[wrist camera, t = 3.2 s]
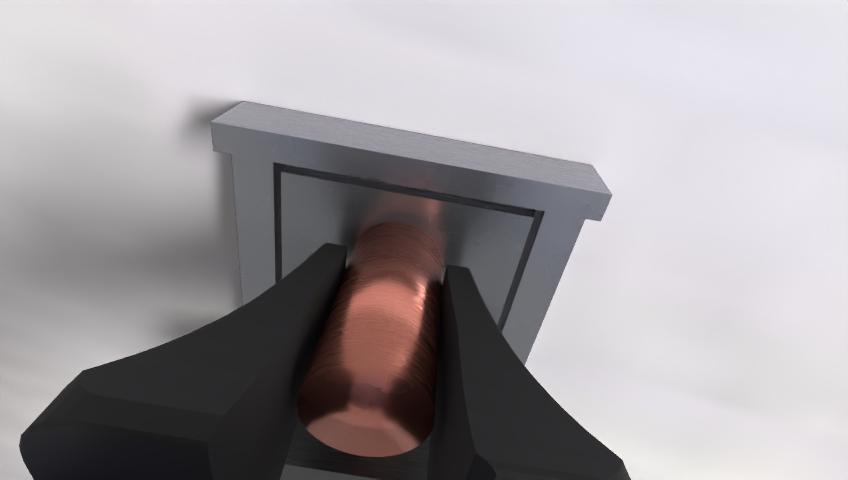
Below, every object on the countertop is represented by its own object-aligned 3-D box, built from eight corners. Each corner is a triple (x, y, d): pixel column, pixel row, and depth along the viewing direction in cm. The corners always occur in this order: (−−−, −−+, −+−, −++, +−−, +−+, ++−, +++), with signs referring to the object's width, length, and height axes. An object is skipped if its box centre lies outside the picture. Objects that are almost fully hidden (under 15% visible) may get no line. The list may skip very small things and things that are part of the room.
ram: (557, 204, 13) (628, 376, 8) (488, 391, 18) (501, 585, 12) (264, 150, 13) (117, 289, 8) (271, 354, 18) (182, 534, 12)
